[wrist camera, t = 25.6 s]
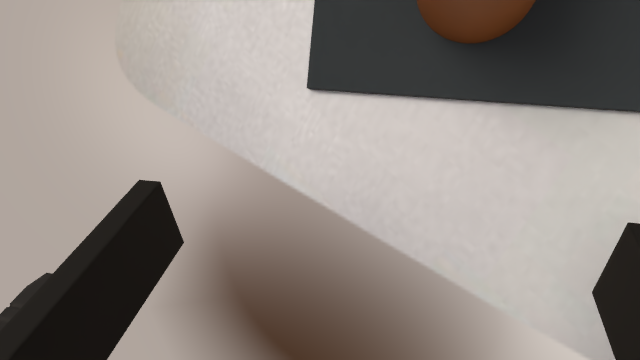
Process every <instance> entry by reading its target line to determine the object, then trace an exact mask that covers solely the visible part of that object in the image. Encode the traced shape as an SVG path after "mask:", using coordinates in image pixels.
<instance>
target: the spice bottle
mask: <svg viewBox="0 0 640 360" xmlns="http://www.w3.org/2000/svg"><path fill="white" fill-rule="evenodd" d="M535 1H536V0H417V5H418V8H419V11H420V13H421V15H422V17H423V19H424V20H425V22H426V23H427V25H428V26H429V27H430V28H431V29H432V30H433V31H435V32H436V33H437V34H439V35H440V36H442V37H444V38H446V39H448V40H451V41H454V42H459V43H467V44H468V43H480V42H485V41H489V40H492V39H495V38H497V37H499V36H501V35H503V34H505V33H507V32H508V31H510V30H511V29H512V28H514V27H515V26H516V25H517V24H518V23H519V22H520V21H521V20H522V19H523V18H524V17H525V16H526V14H527V13H528V12H529V10H530V9H531V7H532V6H533V4H534V2H535Z"/></svg>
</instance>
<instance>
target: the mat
mask: <svg viewBox="0 0 640 360" xmlns="http://www.w3.org/2000/svg"><path fill="white" fill-rule="evenodd" d="M307 88H308V89H314V90H328V91H343V92H357V93H372V94H386V95H401V96H415V97H430V98H444V99H458V100H473V101H487V102H502V103H516V104H531V105H545V106H560V107H574V108H588V109H603V110H617V111H632V112H640V0H536V1H535V2H534V4H533V6H532V7H531V9H530V10H529V12H528V13H527V14H526V16H525V17H524V18H523V19H522V20H521V21H520V22H519V23H518V24H517V25H516V26H515V27H514V28H512V29H511V30H510V31H508V32H507V33H505V34H503V35H501V36H499V37H497V38H495V39H492V40H489V41H485V42H480V43H468V44H467V43H459V42H454V41H451V40H448V39H446V38H444V37H442V36H440V35H439V34H437V33H436V32H435V31H433V30H432V29H431V28H430V27H429V26H428V25H427V23H426V22H425V20H424V19H423V17H422V15H421V13H420V11H419V8H418V5H417V0H315V4H314V15H313V26H312V37H311V48H310V59H309V70H308V81H307Z"/></svg>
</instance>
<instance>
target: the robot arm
mask: <svg viewBox="0 0 640 360" xmlns="http://www.w3.org/2000/svg"><path fill="white" fill-rule="evenodd" d="M183 243H184V242H183V239H182V236H181V234H180V231H179V229H178V226H177V223H176V221H175V218H174V216H173V213H172V211H171V208H170V205H169V203H168V200H167V198H166V195H165V193H164V190H163V188H162V185H161V182H157V181H145V180H139V181H138V182H137V183H136V184H135V185H134V186H133V187H132V188H131V189H130V191H129V192H128V193H127V194H126V195H125V196H124V197H123V198H122V199H121V200H120V201H119V202H118V204H117V205H116V206H115V207H114V208H113V209H112V210H111V211H110V212H109V213H108V214H107V216H106V217H105V218H104V219H103V220H102V221H101V222H100V223H99V224H98V225H97V226H96V227H95V229H94V230H93V231H92V232H91V233H90V234H89V235H88V236H87V237H86V238H85V239H84V241H83V242H82V243H81V244H80V245H79V246H78V247H77V248H76V249H75V250H74V251H73V252H72V254H71V255H70V256H69V257H68V258H67V259H66V260H65V261H64V262H63V263H62V264H61V265H60V266H59V268H58V269H57V270H56V271H55V272H54V273H53V274H50V273H46V274H44V275H43V276H41V277H40V278H38V279H37V280H35V281H34V282H33V283H31V284H30V285H28V286H27V287H26V288H25V289H24V290H23V291H22V292H21V293H20V294H19V295H18V296H17V297H16V298H15V299H14V300H13V301H12V302H11V303H10V307H7V308H6V309H5V310H4V311H3V312H2V313H1V314H0V360H107V358H108V357H109V355H110V354H111V353H112V351H113V350H114V348H115V346H116V345H117V343H118V342H119V340H120V339H121V337H122V336H123V334H124V333H125V331H126V330H127V328H128V327H129V325H130V324H131V322H132V321H133V319H134V318H135V316H136V315H137V313H138V311H139V310H140V308H141V307H142V305H143V304H144V302H145V301H146V299H147V298H148V296H149V295H150V293H151V292H152V290H153V289H154V287H155V286H156V284H157V283H158V281H159V280H160V278H161V277H162V275H163V274H164V272H165V270H166V269H167V267H168V266H169V264H170V263H171V261H172V259H173V258H174V257H175V255H176V254H177V252H178V251H179V249H180V248H181V246H182V244H183ZM592 294H593V297H594V299H595V302H596V305H597V308H598V311H599V314H600V317H601V319H602V322H603V325H604V328H605V331H606V334H607V337H608V339H609V342H610V345H611V348H612V351H613V354H614V356H615V359H616V360H640V224H637V223H628V224H627V226H626V227H625V229H624V231H623V233H622V235H621V237H620V239H619V241H618V243H617V245H616V247H615V249H614V251H613V253H612V255H611V256H610V258H609V260H608V262H607V264H606V266H605V268H604V270H603V272H602V274H601V276H600V278H599V280H598V282H597V284H596V285H595V287H594V289H593V291H592Z"/></svg>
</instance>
